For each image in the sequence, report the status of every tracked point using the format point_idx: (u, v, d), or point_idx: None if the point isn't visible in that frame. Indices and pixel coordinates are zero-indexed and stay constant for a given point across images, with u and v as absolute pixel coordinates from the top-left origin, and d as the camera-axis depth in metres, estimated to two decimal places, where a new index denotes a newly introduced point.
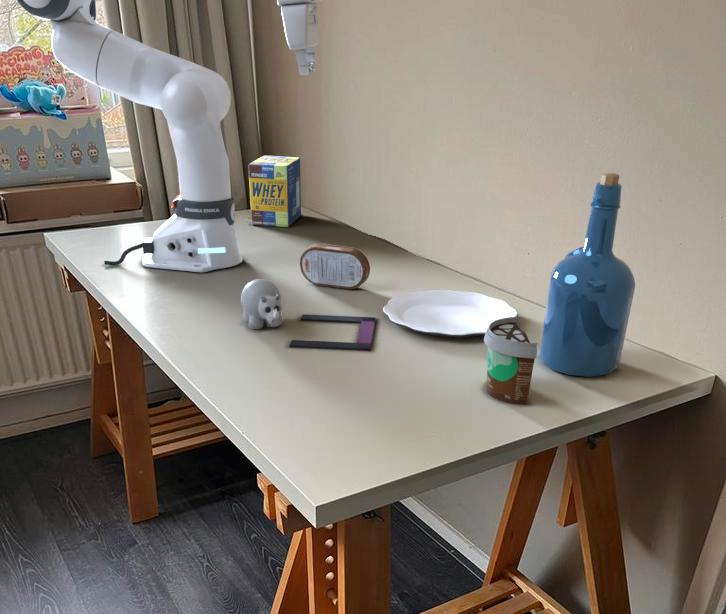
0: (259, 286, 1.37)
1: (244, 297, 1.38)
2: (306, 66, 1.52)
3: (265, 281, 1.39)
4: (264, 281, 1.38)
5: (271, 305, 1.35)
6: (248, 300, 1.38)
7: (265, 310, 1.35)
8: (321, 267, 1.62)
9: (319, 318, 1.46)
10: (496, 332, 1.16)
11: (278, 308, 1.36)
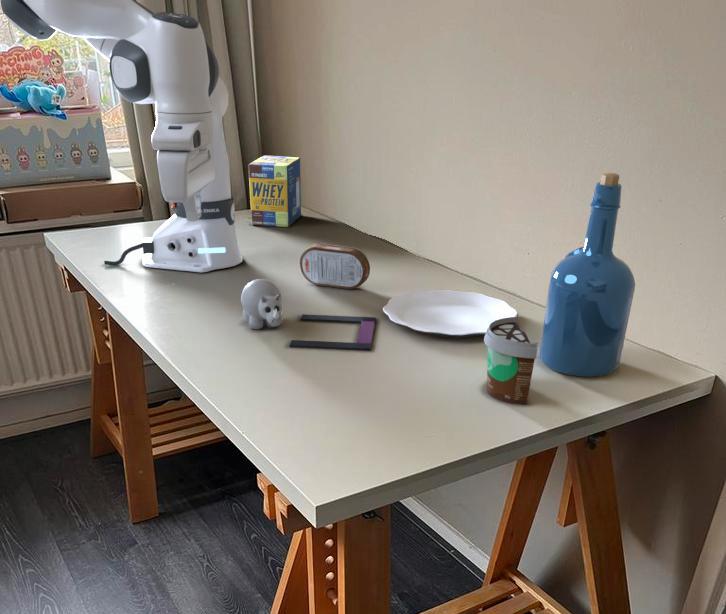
0: (259, 286, 1.37)
1: (244, 297, 1.38)
2: (194, 211, 1.30)
3: (265, 281, 1.39)
4: (264, 281, 1.38)
5: (271, 305, 1.35)
6: (248, 300, 1.38)
7: (265, 310, 1.35)
8: (321, 267, 1.62)
9: (319, 318, 1.46)
10: (496, 332, 1.16)
11: (278, 308, 1.36)
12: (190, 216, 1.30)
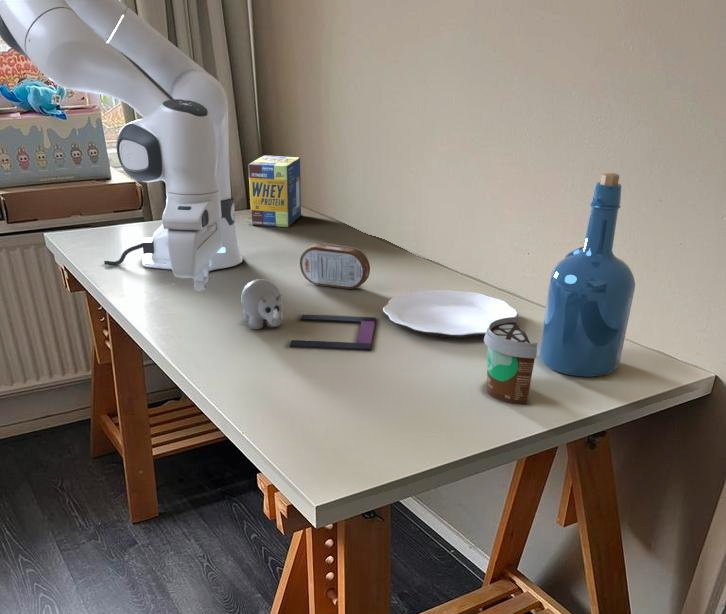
0: (259, 286, 1.37)
1: (244, 297, 1.38)
2: (202, 282, 1.36)
3: (265, 281, 1.39)
4: (264, 281, 1.38)
5: (271, 305, 1.35)
6: (248, 300, 1.38)
7: (265, 310, 1.35)
8: (321, 267, 1.62)
9: (319, 318, 1.46)
10: (496, 332, 1.16)
11: (278, 308, 1.36)
12: (198, 286, 1.36)
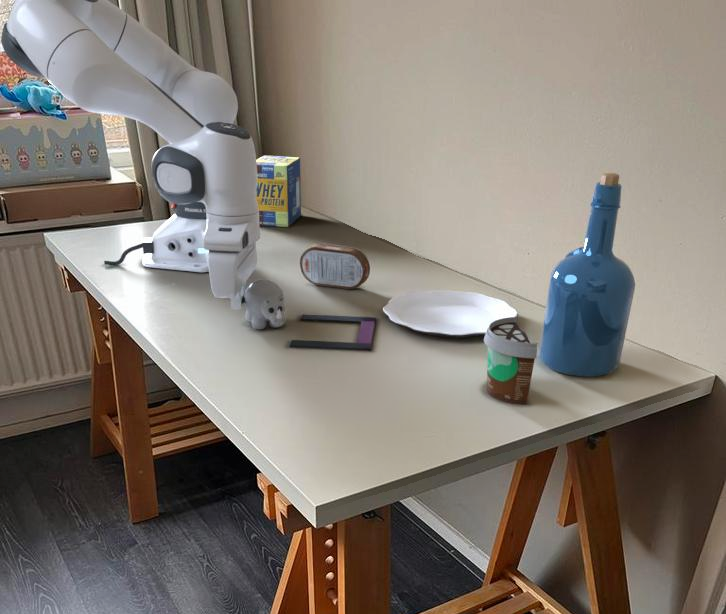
0: (262, 286, 1.37)
1: (248, 297, 1.38)
2: (239, 301, 1.37)
3: (268, 281, 1.38)
4: (267, 281, 1.38)
5: (274, 305, 1.35)
6: (251, 300, 1.37)
7: (268, 311, 1.35)
8: (321, 267, 1.62)
9: (319, 318, 1.46)
10: (496, 332, 1.16)
11: (281, 308, 1.36)
12: (234, 305, 1.38)
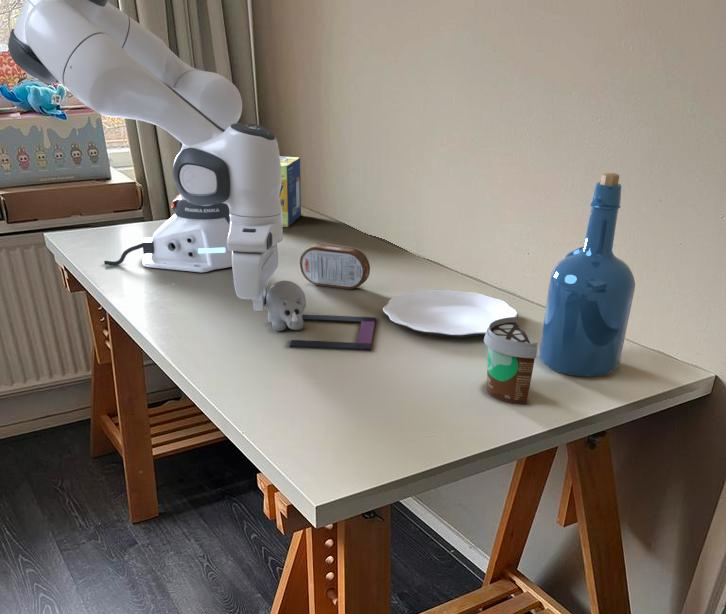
0: (282, 288, 1.37)
1: (268, 298, 1.38)
2: (261, 302, 1.37)
3: (290, 283, 1.38)
4: (289, 283, 1.38)
5: (291, 308, 1.34)
6: (271, 301, 1.37)
7: (285, 313, 1.35)
8: (321, 267, 1.62)
9: (319, 318, 1.46)
10: (496, 332, 1.16)
11: (298, 311, 1.35)
12: (256, 306, 1.37)
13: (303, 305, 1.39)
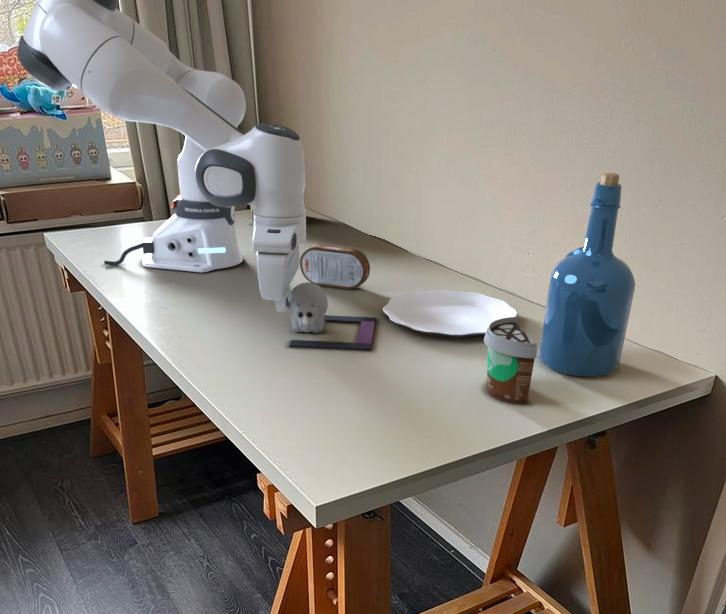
0: (301, 289, 1.36)
1: (288, 298, 1.38)
2: (284, 303, 1.37)
3: (311, 285, 1.37)
4: (310, 285, 1.37)
5: (303, 310, 1.33)
6: (290, 302, 1.37)
7: (298, 315, 1.34)
8: (321, 267, 1.62)
9: None
10: (496, 332, 1.16)
11: (311, 314, 1.34)
12: (279, 307, 1.37)
13: (322, 308, 1.37)
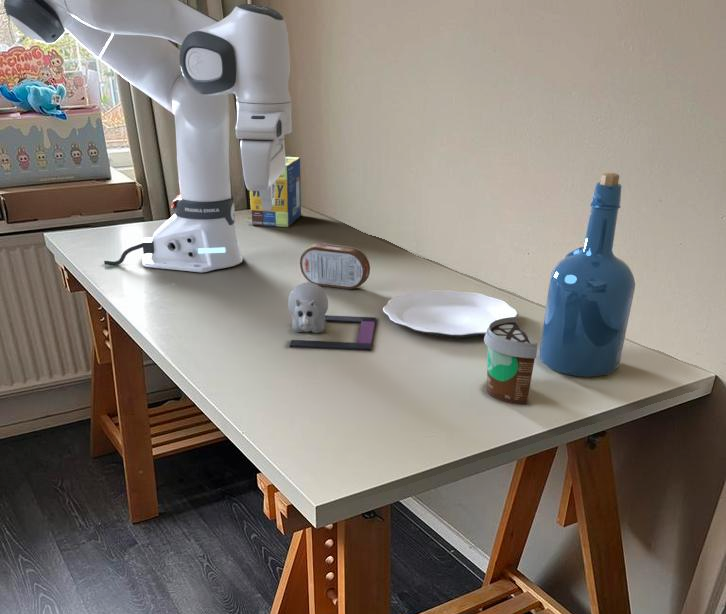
0: (302, 289, 1.36)
1: (289, 298, 1.38)
2: (270, 200, 1.32)
3: (311, 285, 1.37)
4: (310, 285, 1.37)
5: (304, 310, 1.33)
6: (290, 301, 1.37)
7: (298, 314, 1.34)
8: (321, 267, 1.62)
9: None
10: (496, 332, 1.16)
11: (311, 314, 1.34)
12: (265, 205, 1.33)
13: (322, 308, 1.37)
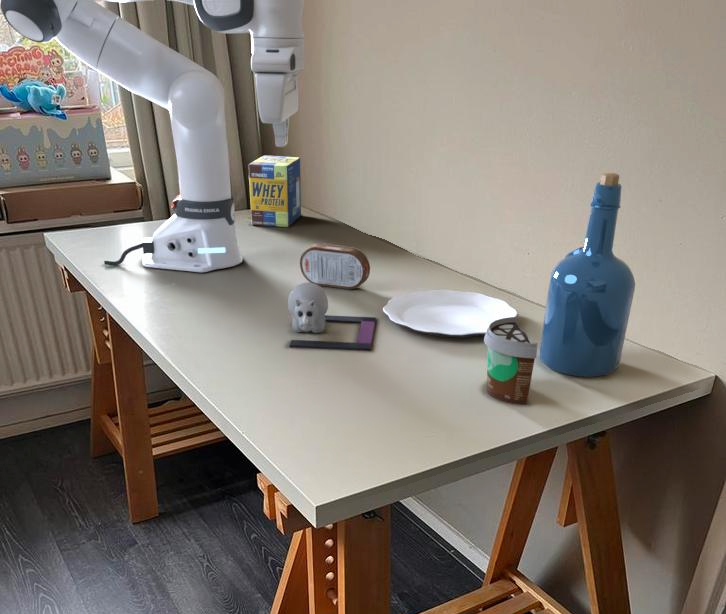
0: (302, 289, 1.36)
1: (289, 298, 1.38)
2: (283, 137, 1.36)
3: (311, 285, 1.37)
4: (310, 285, 1.37)
5: (304, 310, 1.33)
6: (290, 301, 1.37)
7: (298, 314, 1.34)
8: (321, 267, 1.62)
9: None
10: (496, 332, 1.16)
11: (311, 314, 1.34)
12: (279, 142, 1.37)
13: (322, 308, 1.37)
